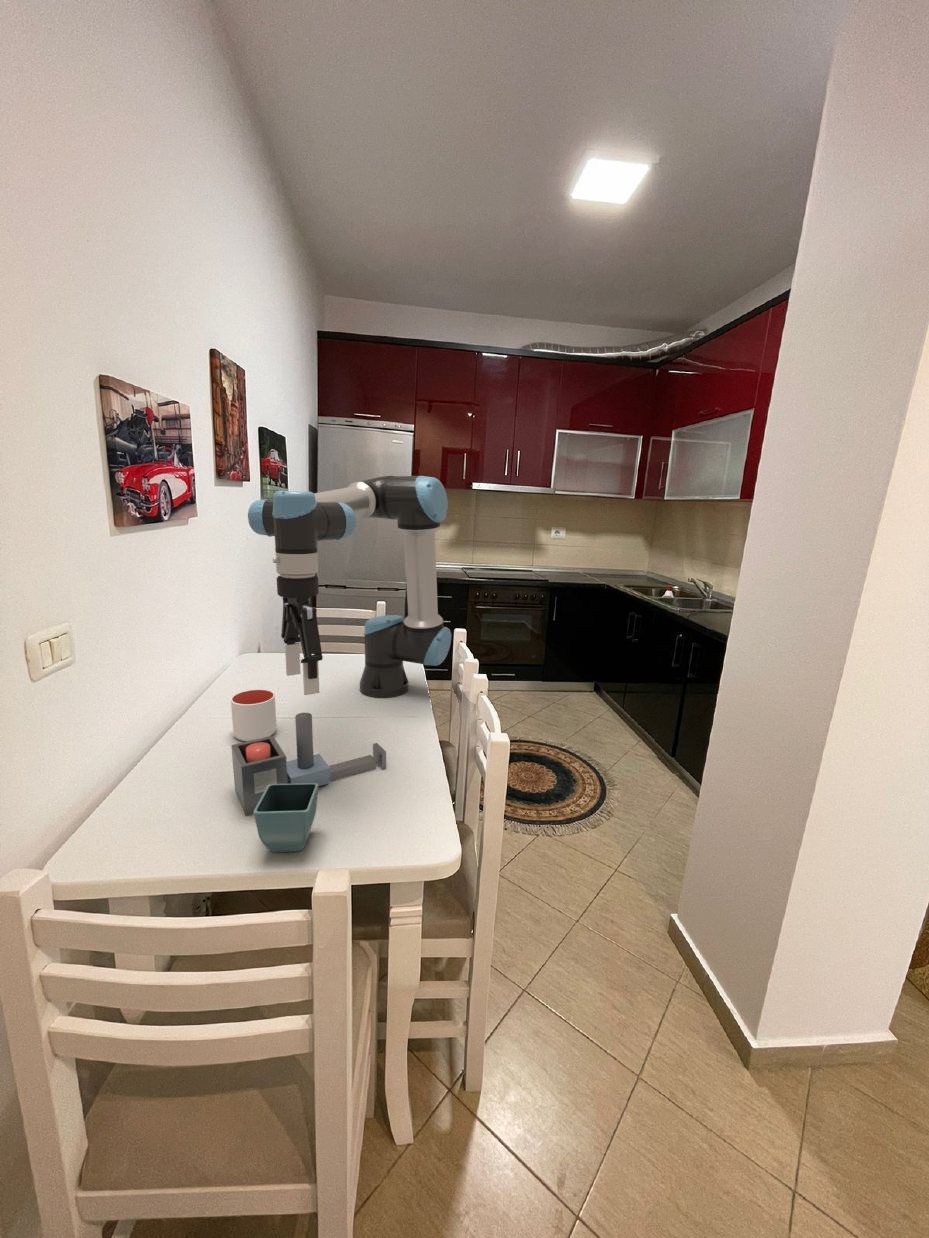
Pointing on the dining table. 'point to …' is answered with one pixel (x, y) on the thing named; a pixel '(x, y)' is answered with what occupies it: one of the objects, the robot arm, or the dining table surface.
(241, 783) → the open box
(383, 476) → the robot arm
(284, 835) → the flower pot
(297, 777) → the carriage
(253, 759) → the button
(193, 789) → the dining table surface
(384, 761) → the rail
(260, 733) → the cup
